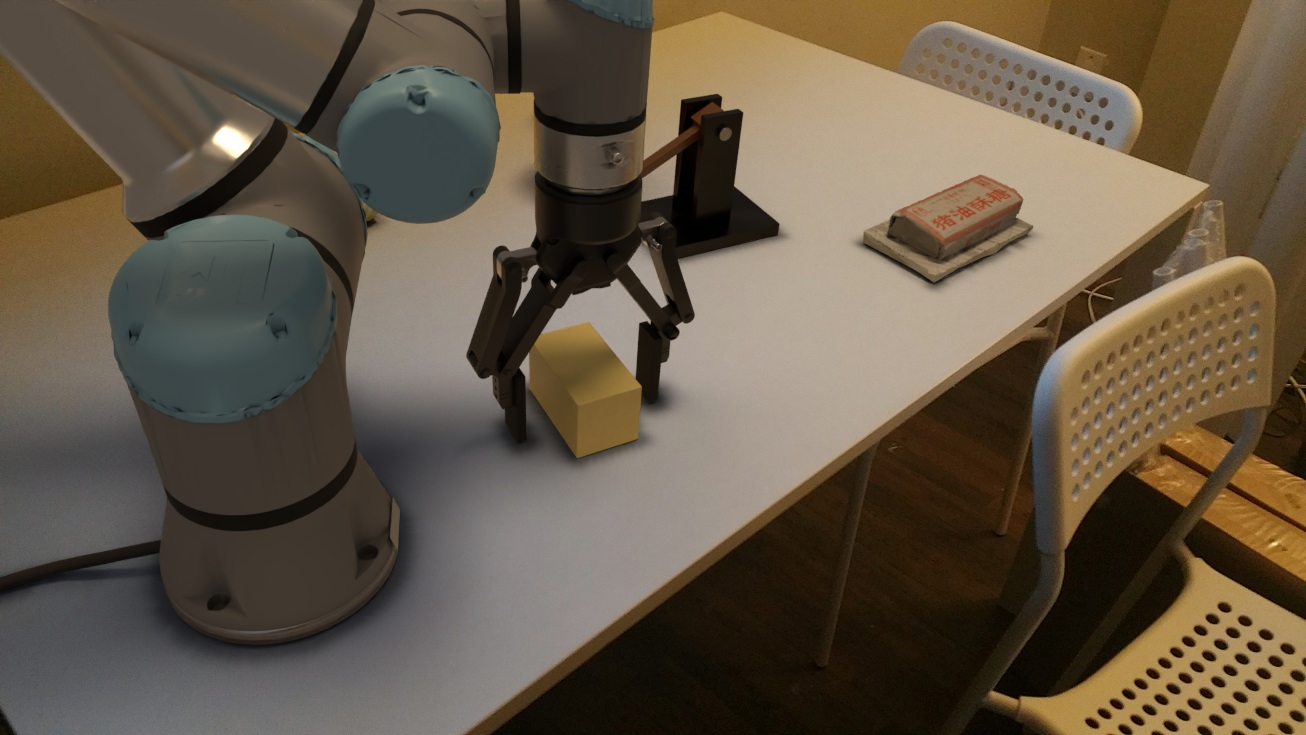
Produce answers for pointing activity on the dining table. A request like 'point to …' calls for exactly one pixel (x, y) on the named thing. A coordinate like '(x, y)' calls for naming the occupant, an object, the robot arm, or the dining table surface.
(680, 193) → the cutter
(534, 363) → the butter
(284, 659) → the dining table surface
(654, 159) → the arm
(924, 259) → the packaged product
